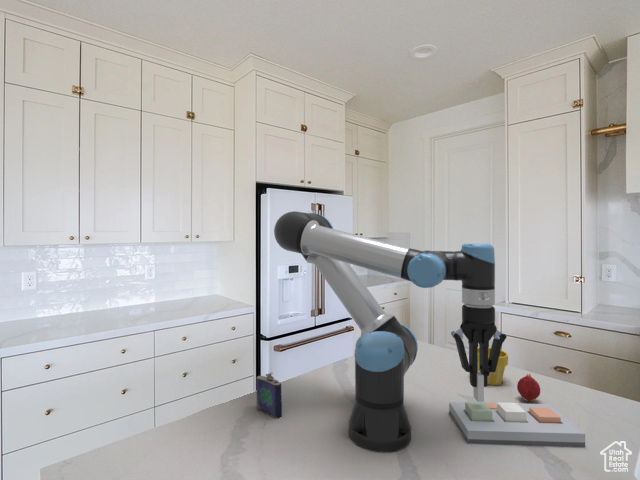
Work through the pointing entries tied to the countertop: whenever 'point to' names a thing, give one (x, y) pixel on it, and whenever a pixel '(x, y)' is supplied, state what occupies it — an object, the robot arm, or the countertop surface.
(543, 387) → the countertop surface
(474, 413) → the key sage
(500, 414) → the key offwhite
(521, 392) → the onion
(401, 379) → the robot arm
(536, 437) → the keypad
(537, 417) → the key terracotta
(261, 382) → the flask
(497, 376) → the plant pot
